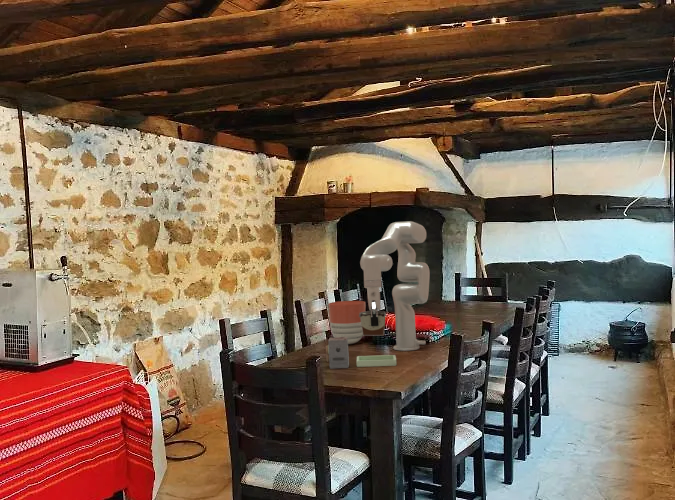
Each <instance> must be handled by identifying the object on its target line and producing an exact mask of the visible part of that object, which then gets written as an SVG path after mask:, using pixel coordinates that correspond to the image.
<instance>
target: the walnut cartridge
mask: <svg viewBox="0 0 675 500" xmlns="http://www.w3.org/2000/svg"><path fill="white" fill-rule="evenodd" d="M325 357H326V359H325V361H327V362H326V363H329V353H328V344H327V345H325Z"/></svg>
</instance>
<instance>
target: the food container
mask: <svg viewBox="0 0 675 500" xmlns="http://www.w3.org/2000/svg"><path fill="white" fill-rule="evenodd" d="M377 316H378V326H371V311H370V310H367V311H366V310H365V312H360V314H359V317H360V319H361V326H362V332H363V336H365V337H366V336H373V337H374V336H375V337H376V336H378V337H380V336H385V324H386V318H387V313H386V311H384V310H377ZM363 336H362V337H363Z"/></svg>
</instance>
